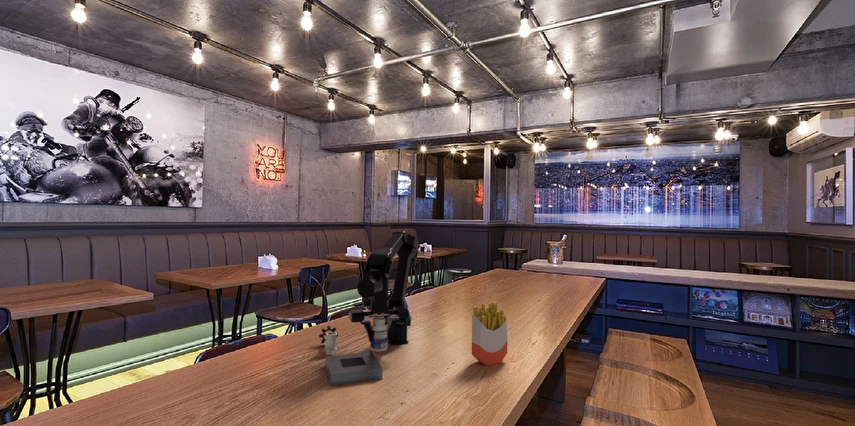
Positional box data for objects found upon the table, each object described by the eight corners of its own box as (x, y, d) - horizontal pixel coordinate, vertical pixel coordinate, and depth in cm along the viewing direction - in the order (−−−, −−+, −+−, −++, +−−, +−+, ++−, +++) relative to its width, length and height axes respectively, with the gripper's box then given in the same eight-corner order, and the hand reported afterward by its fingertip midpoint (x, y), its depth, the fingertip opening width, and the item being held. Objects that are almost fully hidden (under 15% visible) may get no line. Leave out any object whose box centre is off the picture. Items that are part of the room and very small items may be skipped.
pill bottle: (370, 346, 126) (371, 316, 126) (387, 346, 127) (387, 316, 127) (369, 351, 121) (370, 320, 121) (387, 351, 121) (387, 320, 121)
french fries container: (508, 361, 122) (508, 304, 122) (480, 367, 116) (481, 307, 116) (498, 356, 125) (499, 301, 126) (471, 362, 120) (472, 304, 120)
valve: (342, 354, 126) (337, 343, 137) (342, 334, 126) (338, 324, 137) (321, 356, 123) (318, 345, 135) (321, 336, 123) (319, 326, 135)
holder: (371, 361, 120) (371, 351, 120) (382, 378, 107) (382, 368, 107) (325, 366, 115) (325, 356, 115) (330, 385, 102) (330, 374, 102)
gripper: (400, 286, 135) (399, 331, 135) (346, 289, 128) (345, 336, 128) (410, 292, 124) (409, 341, 124) (352, 295, 118) (351, 346, 118)
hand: (378, 340), depth 124 cm, fingers closed on pill bottle, 5 cm apart
